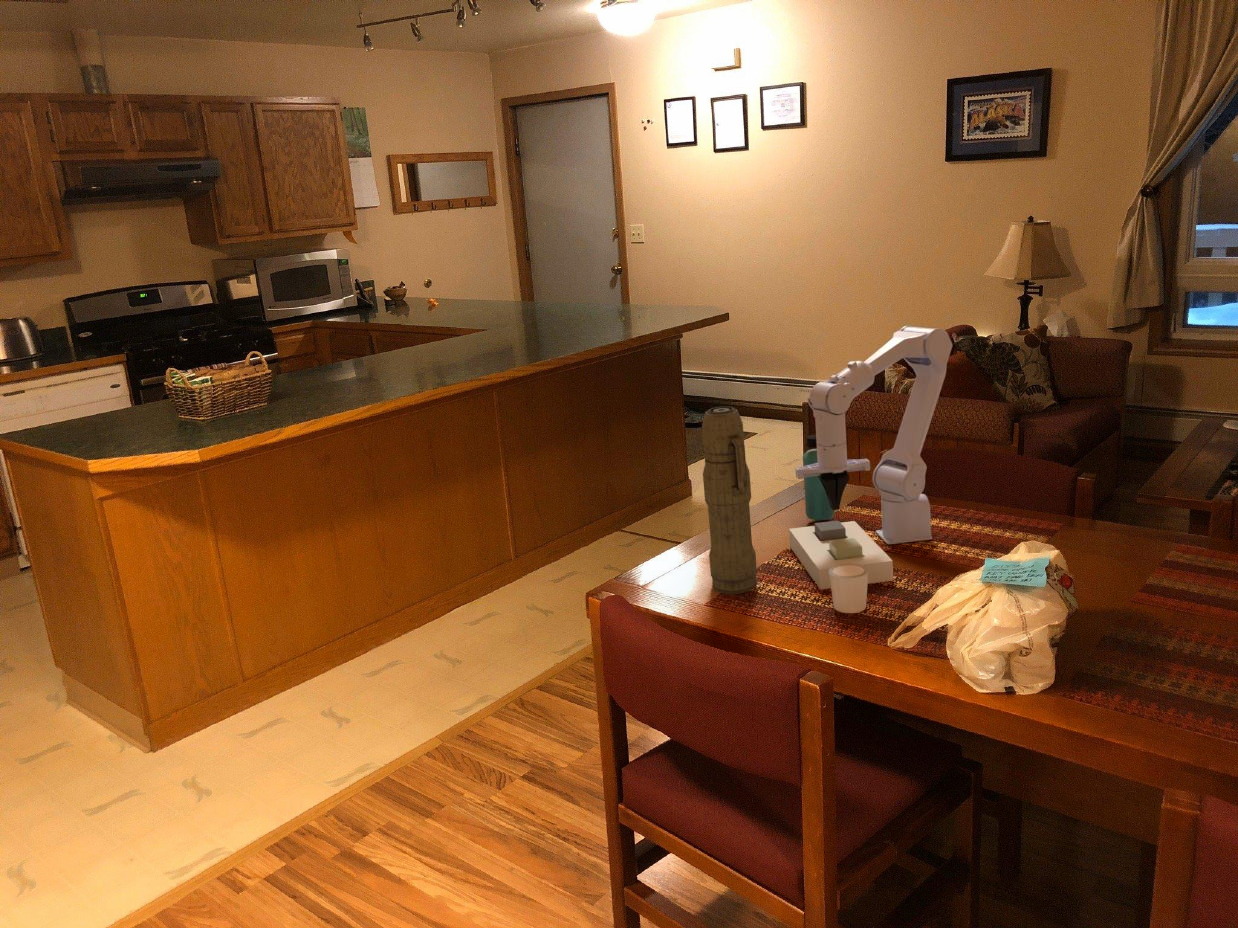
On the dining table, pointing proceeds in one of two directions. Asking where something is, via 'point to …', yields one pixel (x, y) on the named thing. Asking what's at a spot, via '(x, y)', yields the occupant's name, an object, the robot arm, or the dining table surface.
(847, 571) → the white cup
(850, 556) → the sage key
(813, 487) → the beverage bottle
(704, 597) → the dining table surface
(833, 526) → the charcoal key
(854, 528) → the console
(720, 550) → the thermos
